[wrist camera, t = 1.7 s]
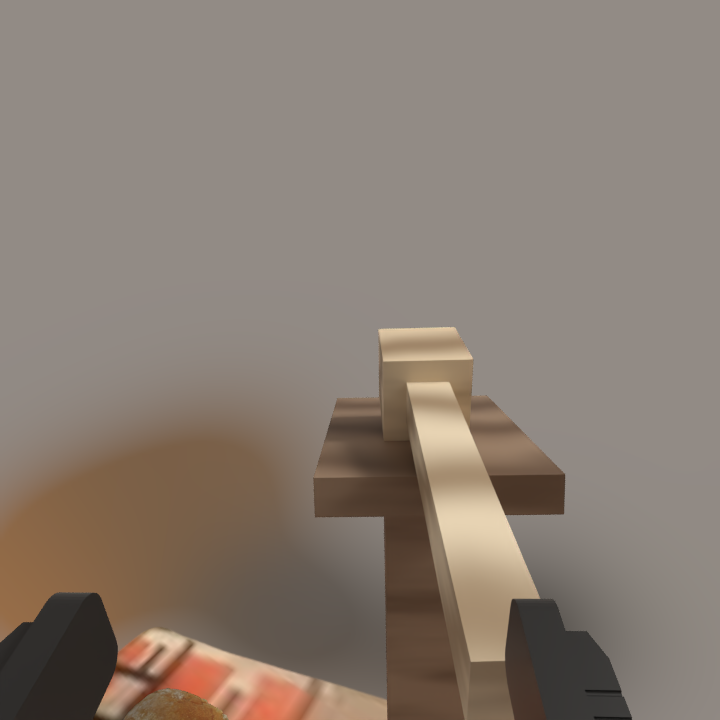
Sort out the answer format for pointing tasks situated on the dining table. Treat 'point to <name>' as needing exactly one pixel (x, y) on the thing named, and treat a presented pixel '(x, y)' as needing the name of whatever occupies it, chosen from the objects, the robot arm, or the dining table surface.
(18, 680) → the robot arm
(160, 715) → the bread roll
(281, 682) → the dining table surface
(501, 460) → the stand
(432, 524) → the mallet
